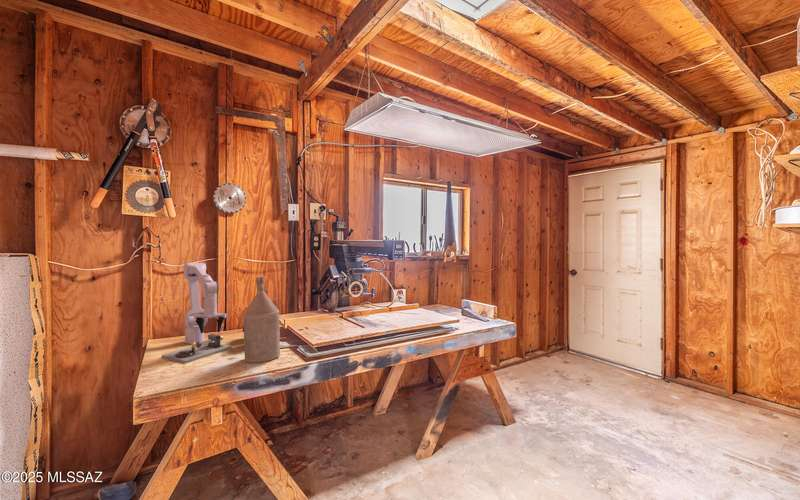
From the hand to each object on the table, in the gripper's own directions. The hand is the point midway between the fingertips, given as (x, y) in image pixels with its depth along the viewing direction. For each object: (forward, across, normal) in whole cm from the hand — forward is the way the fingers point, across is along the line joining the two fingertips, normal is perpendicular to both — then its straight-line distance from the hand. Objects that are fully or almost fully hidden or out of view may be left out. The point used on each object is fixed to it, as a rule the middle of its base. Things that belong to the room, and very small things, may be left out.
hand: (210, 332), depth 170 cm
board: (+10, -5, -2) cm, 11 cm away
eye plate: (+8, 0, +4) cm, 9 cm away
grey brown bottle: (+10, +28, -16) cm, 33 cm away
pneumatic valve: (+10, +14, +17) cm, 25 cm away
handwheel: (+8, -9, -7) cm, 14 cm away
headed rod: (+7, -1, +3) cm, 7 cm away
